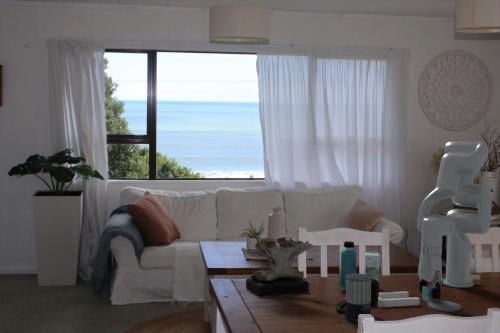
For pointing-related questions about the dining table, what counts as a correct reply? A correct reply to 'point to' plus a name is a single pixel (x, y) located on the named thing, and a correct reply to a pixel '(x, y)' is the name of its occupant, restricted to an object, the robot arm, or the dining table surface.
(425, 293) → the teal block
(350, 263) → the beverage bottle
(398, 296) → the white tray
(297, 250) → the coral
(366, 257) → the syrup box
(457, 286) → the robot arm
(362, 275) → the milk frother
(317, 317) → the dining table surface
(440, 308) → the pad
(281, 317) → the dining table surface
